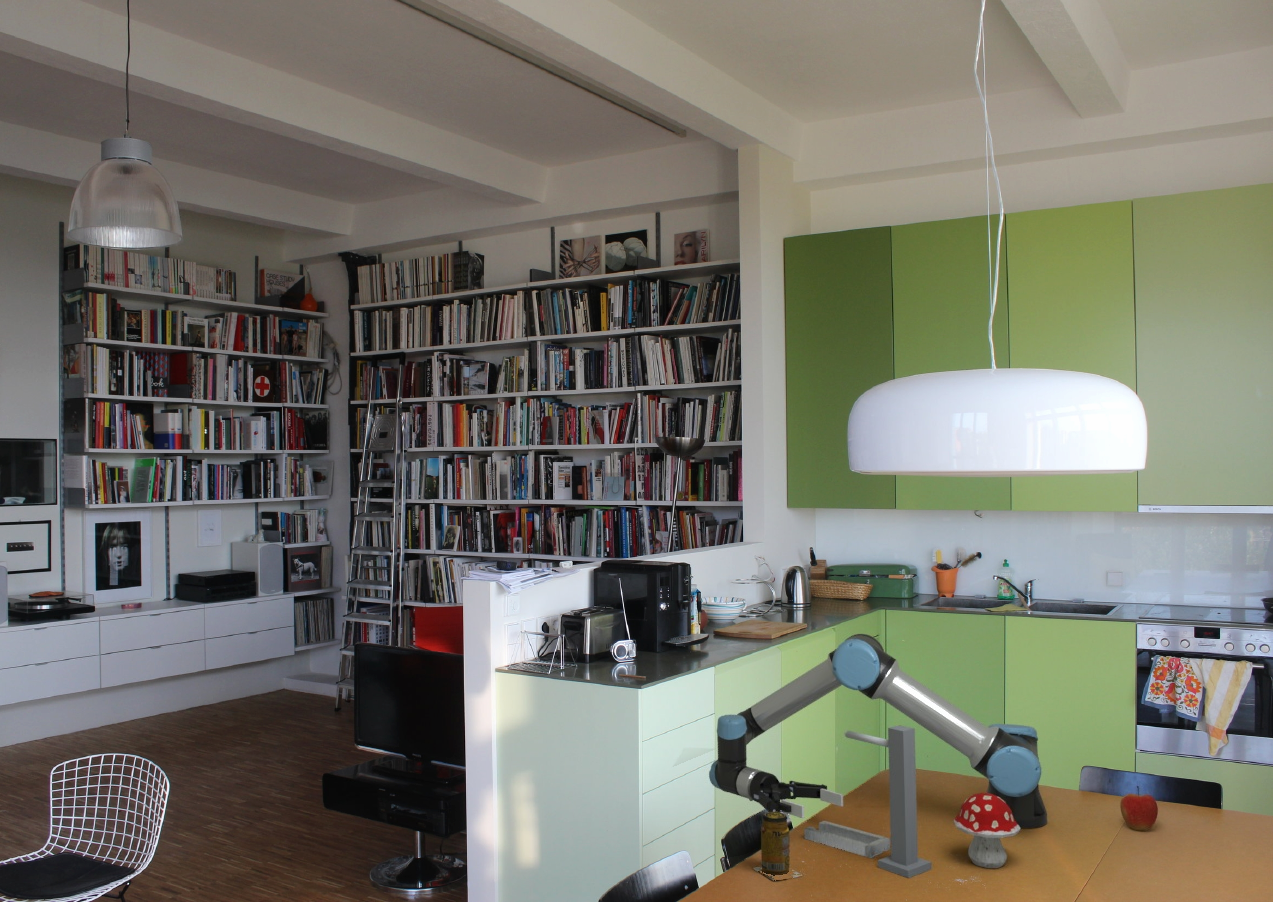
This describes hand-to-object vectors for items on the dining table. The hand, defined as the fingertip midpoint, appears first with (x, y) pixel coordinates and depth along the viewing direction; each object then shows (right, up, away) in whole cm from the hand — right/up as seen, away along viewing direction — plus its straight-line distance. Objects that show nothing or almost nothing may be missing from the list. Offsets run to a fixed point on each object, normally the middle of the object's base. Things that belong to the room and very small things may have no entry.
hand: (823, 806), depth 232 cm
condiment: (-14, -7, -20) cm, 25 cm away
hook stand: (+11, -7, -14) cm, 19 cm away
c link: (-1, -7, +3) cm, 8 cm away
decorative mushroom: (+33, -7, -16) cm, 37 cm away
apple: (+77, -7, +5) cm, 77 cm away
